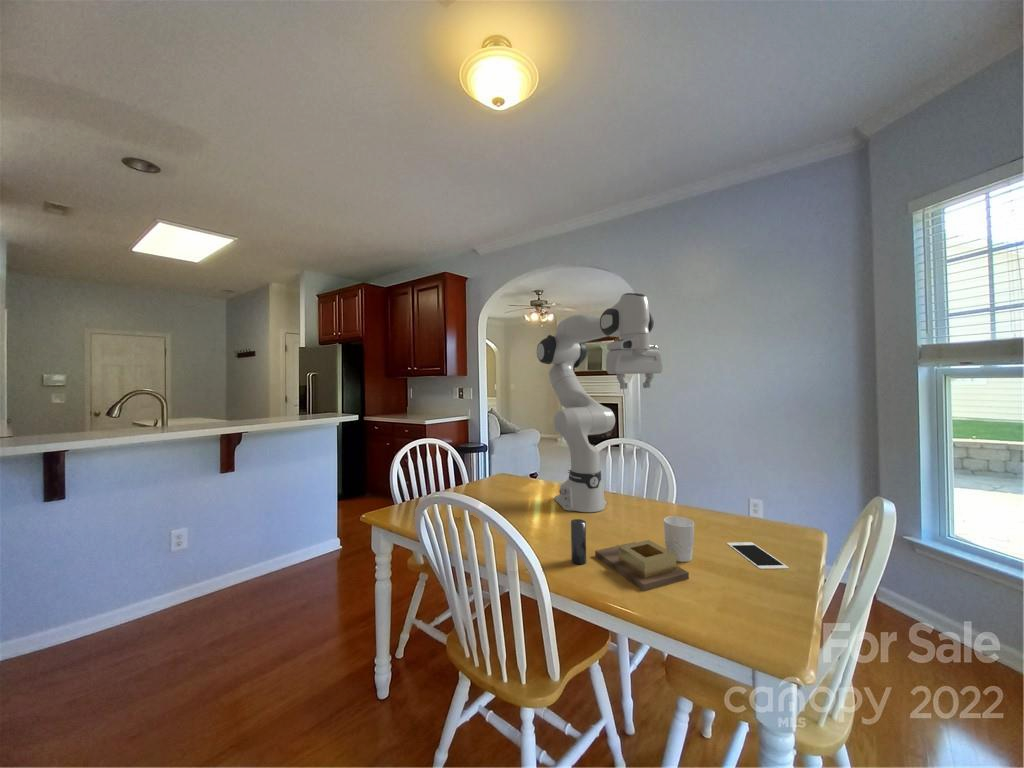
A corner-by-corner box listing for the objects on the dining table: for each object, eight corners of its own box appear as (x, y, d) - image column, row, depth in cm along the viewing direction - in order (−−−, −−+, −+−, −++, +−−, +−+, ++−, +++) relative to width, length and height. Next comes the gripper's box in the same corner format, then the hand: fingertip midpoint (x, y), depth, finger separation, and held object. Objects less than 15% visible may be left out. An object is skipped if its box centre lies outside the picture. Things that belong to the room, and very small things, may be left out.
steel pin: (568, 559, 109) (568, 520, 109) (581, 557, 111) (580, 518, 111) (576, 566, 106) (575, 525, 105) (589, 563, 107) (588, 523, 107)
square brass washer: (618, 561, 105) (618, 546, 105) (648, 554, 108) (648, 539, 108) (644, 578, 95) (644, 562, 95) (676, 570, 99) (676, 554, 99)
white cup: (676, 565, 105) (676, 528, 105) (658, 552, 113) (657, 517, 113) (701, 561, 107) (700, 524, 107) (681, 549, 115) (681, 515, 115)
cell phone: (751, 544, 118) (751, 542, 118) (789, 570, 102) (789, 567, 102) (726, 544, 118) (725, 542, 118) (759, 570, 102) (759, 568, 102)
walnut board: (595, 555, 111) (595, 550, 111) (635, 547, 117) (634, 542, 117) (644, 590, 93) (643, 584, 93) (688, 578, 98) (688, 572, 98)
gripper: (652, 345, 131) (652, 387, 131) (602, 344, 122) (603, 389, 122) (667, 344, 125) (667, 387, 125) (616, 342, 116) (616, 389, 116)
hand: (635, 388), depth 124 cm, fingers open, 8 cm apart
